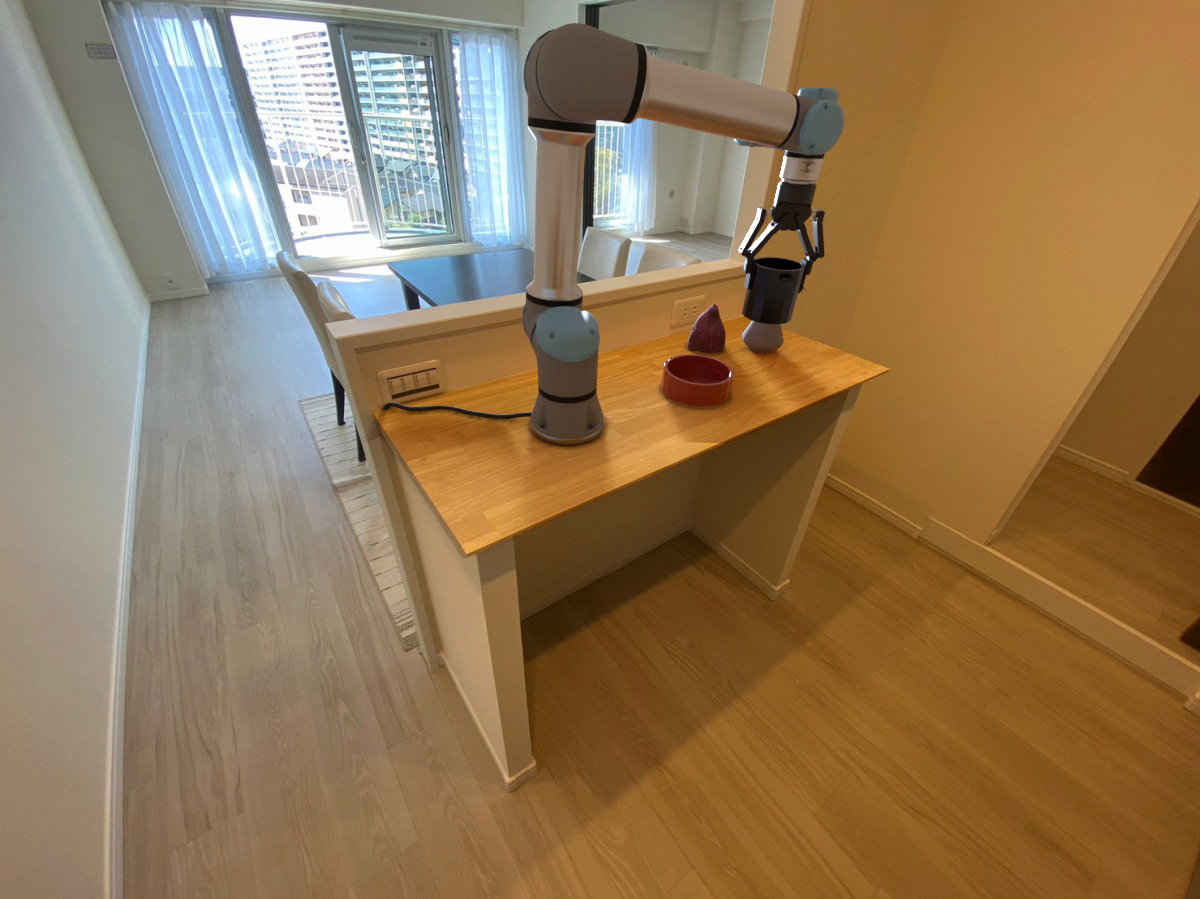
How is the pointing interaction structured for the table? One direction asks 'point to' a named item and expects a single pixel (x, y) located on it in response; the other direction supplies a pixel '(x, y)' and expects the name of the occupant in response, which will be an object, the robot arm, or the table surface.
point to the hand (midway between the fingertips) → (772, 288)
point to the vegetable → (708, 332)
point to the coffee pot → (763, 336)
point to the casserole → (696, 380)
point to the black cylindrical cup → (773, 290)
